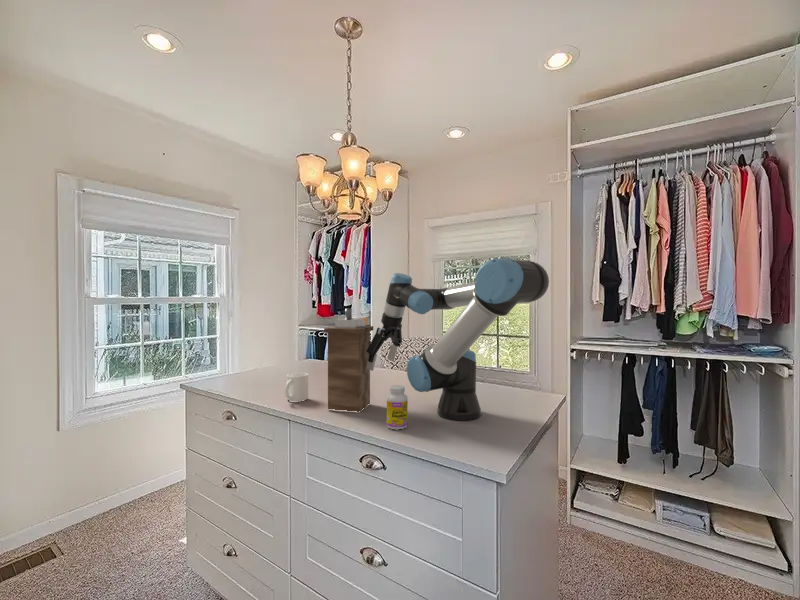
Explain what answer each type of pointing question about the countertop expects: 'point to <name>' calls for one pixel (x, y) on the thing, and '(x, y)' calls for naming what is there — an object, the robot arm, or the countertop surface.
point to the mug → (297, 387)
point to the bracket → (350, 321)
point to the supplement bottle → (397, 408)
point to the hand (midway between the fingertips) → (380, 365)
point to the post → (348, 368)
